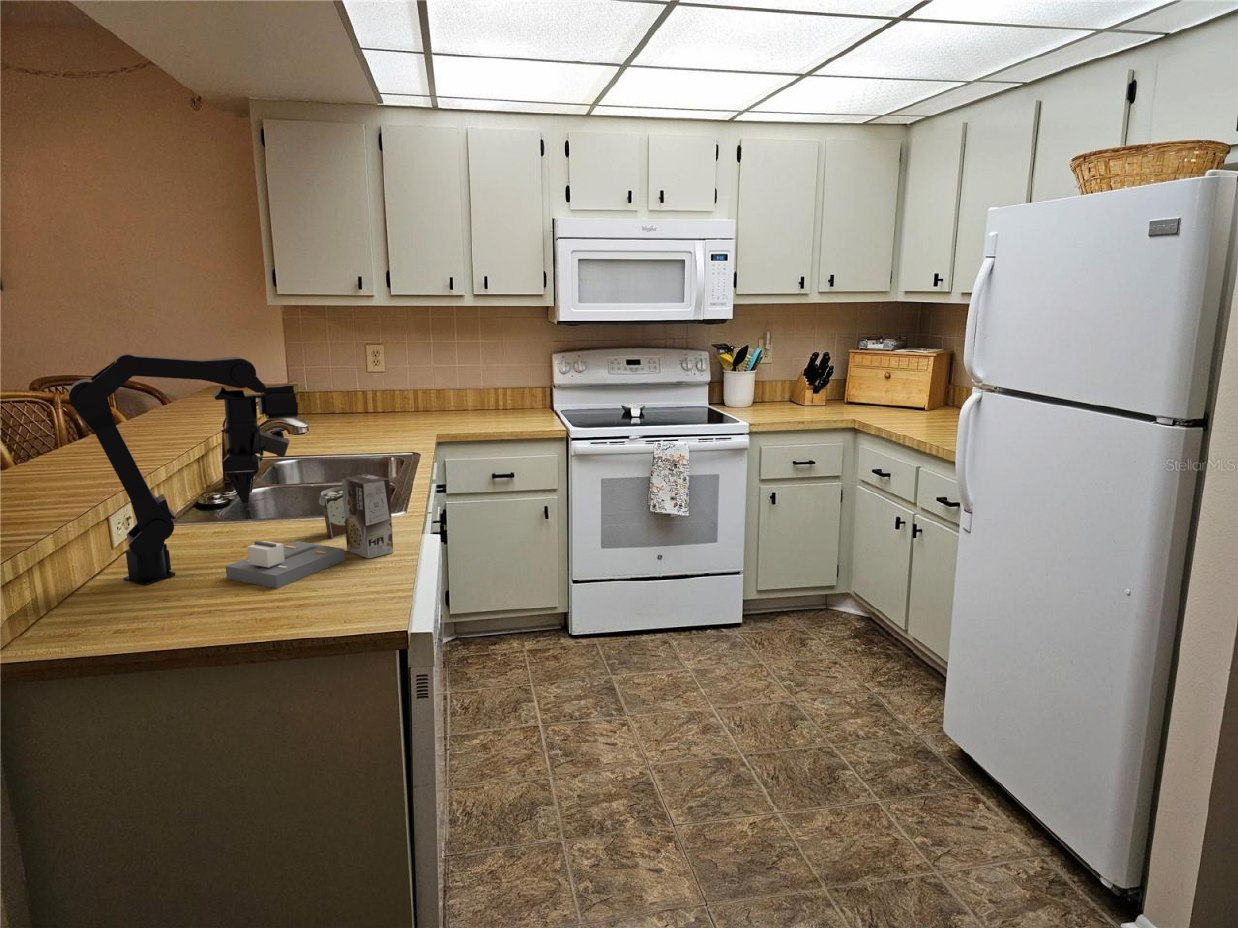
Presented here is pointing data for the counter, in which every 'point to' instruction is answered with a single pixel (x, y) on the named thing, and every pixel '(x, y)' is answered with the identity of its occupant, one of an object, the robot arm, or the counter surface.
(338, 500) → the food container
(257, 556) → the fader tab
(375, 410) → the counter surface
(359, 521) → the coffee box
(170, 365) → the robot arm
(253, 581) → the fader console
